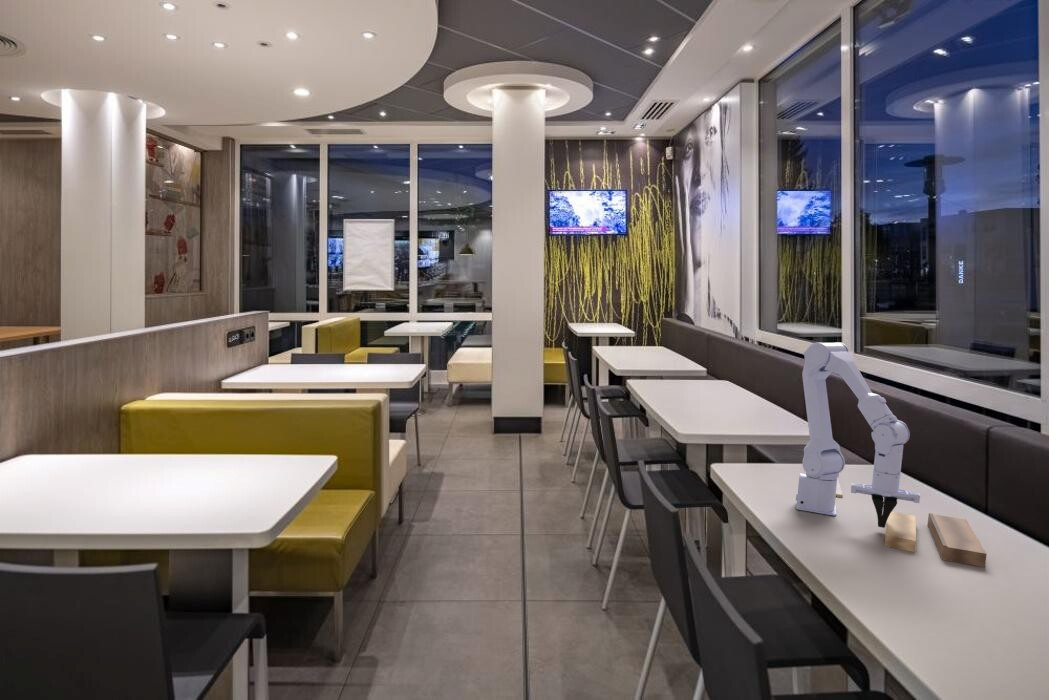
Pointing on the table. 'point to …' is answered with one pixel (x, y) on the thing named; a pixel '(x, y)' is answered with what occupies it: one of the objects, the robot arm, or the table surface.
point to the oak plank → (901, 531)
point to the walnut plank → (956, 540)
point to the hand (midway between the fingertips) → (881, 526)
